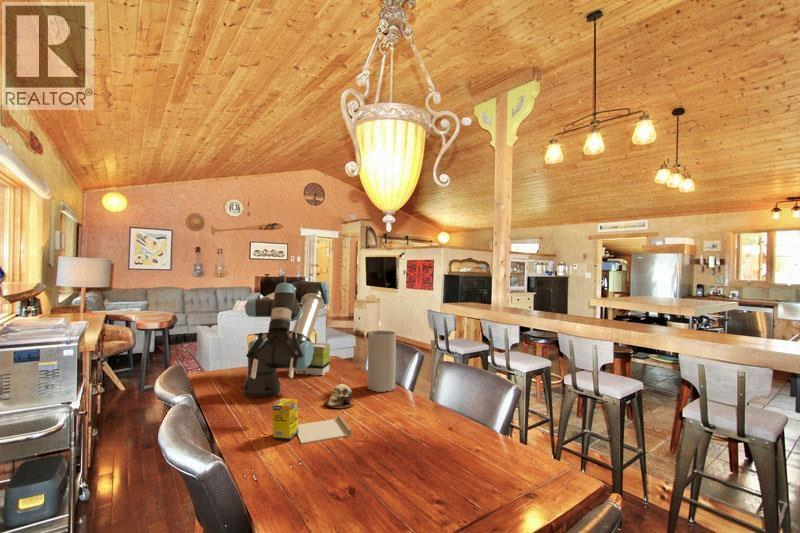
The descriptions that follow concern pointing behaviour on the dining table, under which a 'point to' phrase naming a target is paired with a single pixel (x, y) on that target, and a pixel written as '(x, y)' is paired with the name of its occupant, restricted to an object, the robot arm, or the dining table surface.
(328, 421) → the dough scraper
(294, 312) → the robot arm
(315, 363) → the tea box
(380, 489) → the dining table surface
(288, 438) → the supplement box
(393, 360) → the cylinder vase
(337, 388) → the skull
